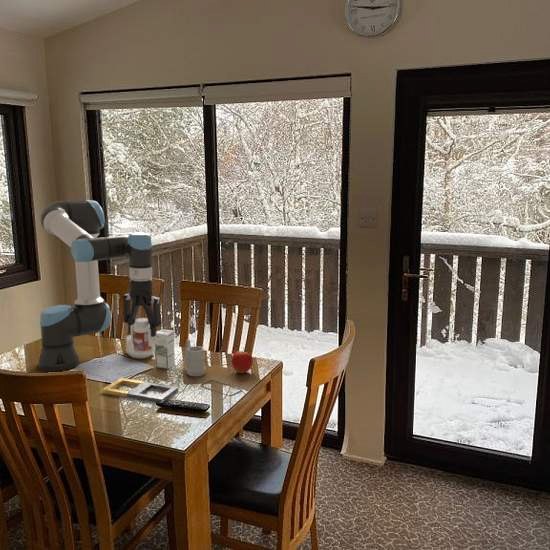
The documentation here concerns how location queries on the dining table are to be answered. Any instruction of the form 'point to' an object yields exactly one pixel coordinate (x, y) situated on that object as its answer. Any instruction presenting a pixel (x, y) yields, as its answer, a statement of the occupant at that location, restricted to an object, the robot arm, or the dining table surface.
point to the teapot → (134, 354)
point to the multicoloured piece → (140, 390)
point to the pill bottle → (141, 336)
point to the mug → (194, 360)
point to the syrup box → (164, 349)
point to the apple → (242, 361)
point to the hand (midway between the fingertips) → (142, 343)
